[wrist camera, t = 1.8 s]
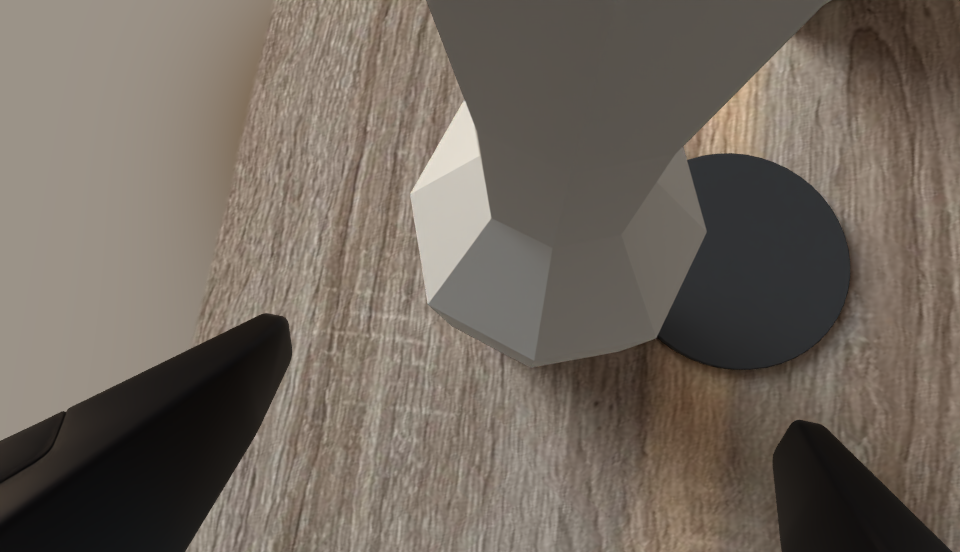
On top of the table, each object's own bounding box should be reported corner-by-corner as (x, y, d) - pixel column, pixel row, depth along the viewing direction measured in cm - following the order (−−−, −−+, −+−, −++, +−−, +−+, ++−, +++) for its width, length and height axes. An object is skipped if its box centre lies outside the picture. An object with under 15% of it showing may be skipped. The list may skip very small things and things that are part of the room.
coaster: (817, 401, 21) (823, 402, 21) (592, 327, 22) (593, 326, 22) (865, 191, 23) (871, 188, 22) (652, 132, 24) (654, 128, 23)
